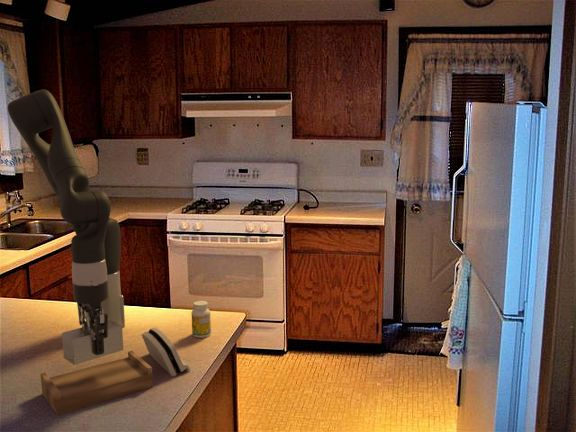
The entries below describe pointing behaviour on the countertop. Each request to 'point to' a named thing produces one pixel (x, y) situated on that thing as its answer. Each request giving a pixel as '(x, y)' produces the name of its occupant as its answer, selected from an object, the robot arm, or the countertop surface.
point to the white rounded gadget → (163, 351)
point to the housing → (90, 343)
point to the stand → (96, 383)
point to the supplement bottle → (201, 320)
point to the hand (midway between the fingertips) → (94, 349)
